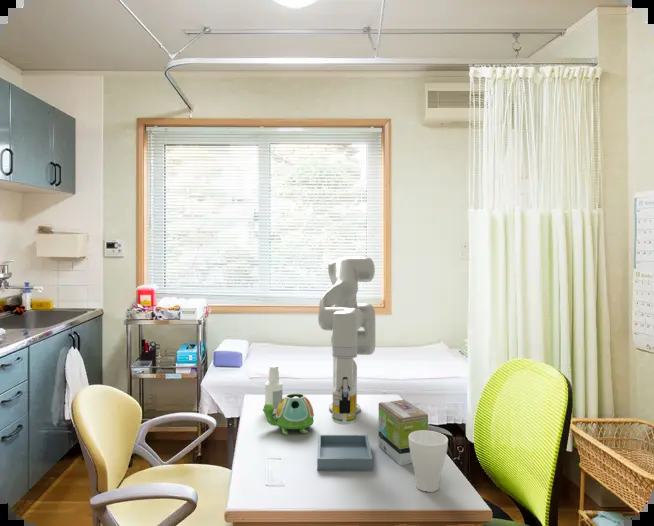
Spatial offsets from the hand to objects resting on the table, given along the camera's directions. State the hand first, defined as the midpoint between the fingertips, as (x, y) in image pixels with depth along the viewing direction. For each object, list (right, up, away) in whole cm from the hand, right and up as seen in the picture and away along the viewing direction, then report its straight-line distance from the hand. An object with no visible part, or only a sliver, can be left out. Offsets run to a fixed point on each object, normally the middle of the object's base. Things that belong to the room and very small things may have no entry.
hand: (344, 408), depth 148 cm
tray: (0, -15, +1) cm, 15 cm away
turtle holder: (-18, -15, +24) cm, 33 cm away
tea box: (+18, -16, +4) cm, 24 cm away
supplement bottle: (0, -4, 0) cm, 4 cm away
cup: (+22, -16, -17) cm, 32 cm away
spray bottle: (-26, -14, +42) cm, 51 cm away
